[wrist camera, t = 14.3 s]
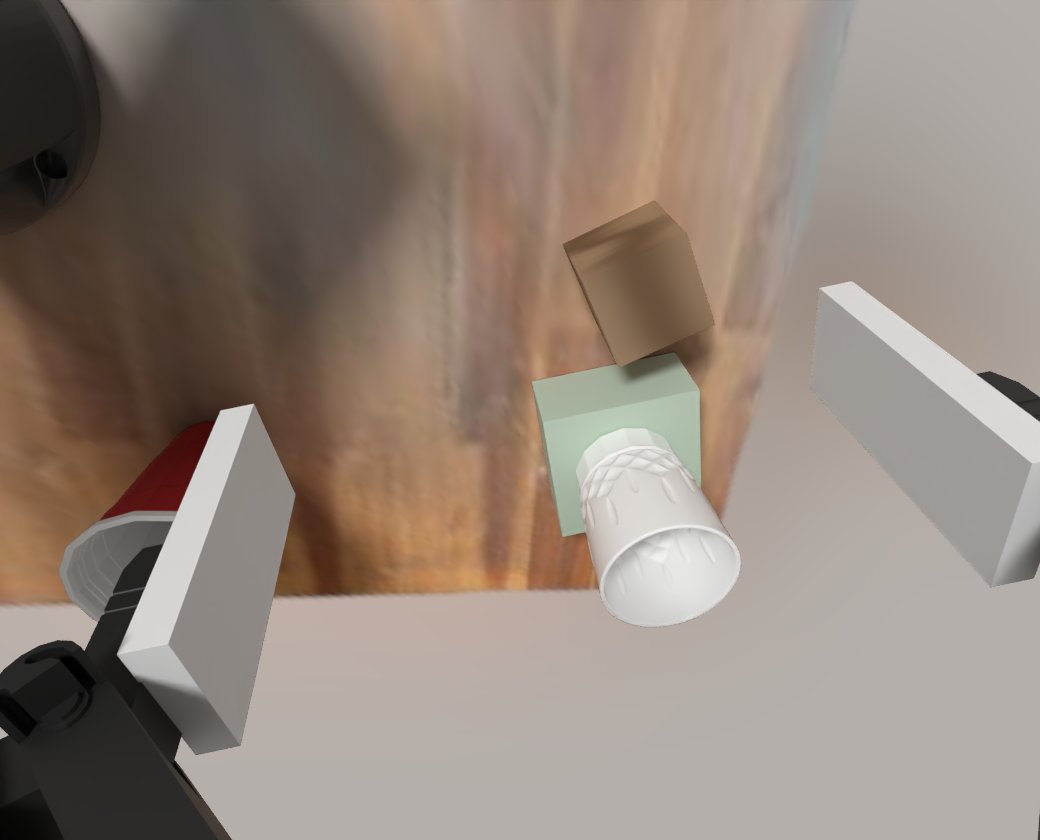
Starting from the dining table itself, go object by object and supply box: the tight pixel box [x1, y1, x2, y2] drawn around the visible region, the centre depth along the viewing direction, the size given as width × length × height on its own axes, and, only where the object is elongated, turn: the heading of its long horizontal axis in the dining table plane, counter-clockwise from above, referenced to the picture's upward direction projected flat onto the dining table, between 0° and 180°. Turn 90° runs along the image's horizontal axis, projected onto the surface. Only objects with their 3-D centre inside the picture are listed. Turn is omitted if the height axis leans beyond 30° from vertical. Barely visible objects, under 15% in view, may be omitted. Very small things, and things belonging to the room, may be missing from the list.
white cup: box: [576, 428, 741, 627], centre depth 42 cm, size 8×8×10 cm
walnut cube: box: [563, 200, 715, 368], centre depth 41 cm, size 6×6×6 cm
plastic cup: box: [59, 422, 216, 622], centre depth 43 cm, size 11×11×12 cm
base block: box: [532, 352, 701, 537], centre depth 48 cm, size 10×10×5 cm
